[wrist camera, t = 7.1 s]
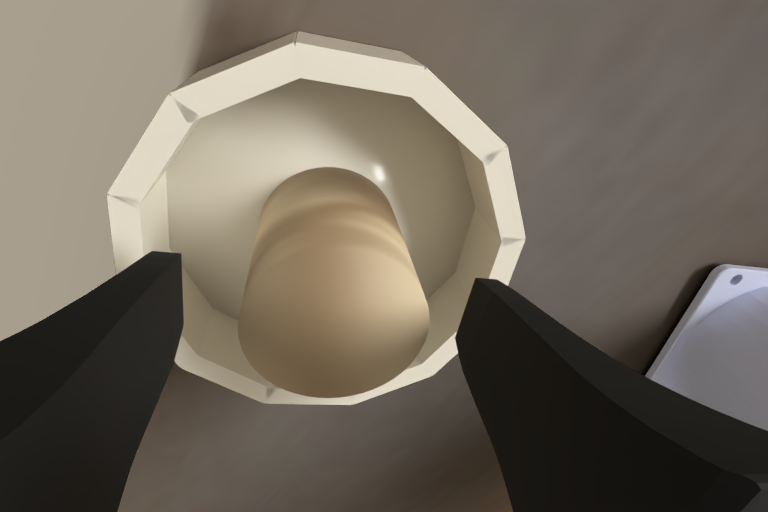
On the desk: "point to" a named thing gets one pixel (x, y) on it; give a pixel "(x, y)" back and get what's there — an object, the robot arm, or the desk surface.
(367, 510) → the desk surface
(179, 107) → the bowl
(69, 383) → the robot arm
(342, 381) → the tan wooden cylinder
